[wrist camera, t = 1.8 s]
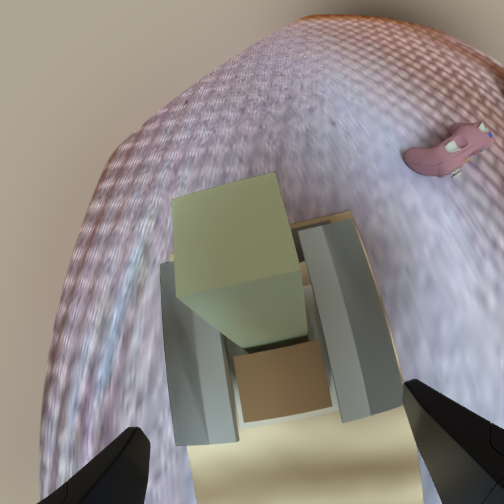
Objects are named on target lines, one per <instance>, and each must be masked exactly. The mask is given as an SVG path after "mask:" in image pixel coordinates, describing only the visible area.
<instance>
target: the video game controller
mask: <svg viewBox="0 0 504 504" xmlns="http://www.w3.org/2000/svg"><path fill="white" fill-rule="evenodd" d="M449 131H450V135H451V136H450V137H449V138H447V139H445V140H444V141H443V142H441V143H440V144H439V145H437V146H435V147H433V148H411V149H408V150H407V151H406V152H405V154H404V159H405V162H406V164H407V165H408V166H409V167H410V168H411V169H412V170H414V171H416V172H418V173H420V174H423V175H428V176H438V177H442V176H444V175H448V174H450V175H451V174H453V176H452V177H451V178H457V177H458V176H460V174H461V172H462V171H460V172H458V171H459V169H460V167H461V166H462V165H463V164H464V163H466V162H468V161H469V158H468V157H470V156H472V155H474V154H476V153H478V152H482V151H484V150H485V149H487V148H488V147H489V145H491V144H492V143H494V142H495V141H496V140H495V139H494V137H493V135H492V134H491V132H490V130H489V129H488V128H486V127H485V126H484V123H480V122H476V123H472V124H468V123H455V124H453V125H451V127H450V130H449Z"/></svg>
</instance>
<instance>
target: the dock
mask: <svg viewBox="0 0 504 504" xmlns="http://www.w3.org/2000/svg"><path fill="white" fill-rule="evenodd" d="M298 235H299V240H300V244H301V248H302V251H303V255H304V259H305V263H306V267H307V270H308V274H309V278H310V282H311V286H312V290H313V294H314V298H315V302H316V306H317V311H318V315H319V319H320V323H321V327H322V332H323V336H324V340H325V345H326V349H327V354H328V358H329V363H330V367H331V372H332V376H333V381H334V386H335V391H336V396H337V400H338V405H339V410H340V416H341V421H342V423H346V422H350V421H354V420H358V419H361V418H365V417H368V416H372V415H375V414H378V413H382V412H385V411H388V410H391V409H394V408H397V407H400V406H403V401H402V397H403V385H402V381H401V376H400V372H399V368H398V364H397V360H396V356H395V352H394V348H393V344H392V341H391V337H390V333H389V330H388V326H387V322H386V319H385V315H384V312H383V309H382V305H381V302H380V299H379V296H378V292H377V289H376V286H375V283H374V280H373V277H372V274H371V271H370V268H369V265H368V262H367V259H366V256H365V253H364V250H363V247H362V245H361V242H360V239H359V236H358V234H357V231H356V228H355V225H354V223H353V220H352V219H348V220H344V221H340V222H335V223H331V224H326V225H322V226H318V227H314V228H309V229H305V230H301V231H298ZM160 284H161V306H162V323H163V338H164V351H165V362H166V372H167V382H168V391H169V400H170V408H171V415H172V423H173V430H174V437H175V443H176V446H195V445H212V444H224V443H235V442H238V441H240V438H239V432H238V426H237V420H236V414H235V408H234V402H233V396H232V389H231V383H230V376H229V369H228V363H227V356H226V349H225V342H224V335H223V334H222V333H221V332H220V331H218V330H217V329H216V328H214V327H213V326H212V325H210V324H209V323H208V322H207V321H205V320H204V319H203V318H202V317H200V316H199V315H198V314H196V313H195V312H194V311H193V310H191V309H190V308H189V307H188V306H186V305H185V304H184V303H183V302H182V301H180V300H179V299H178V298H177V297H176V286H175V268H174V261H171V262H167V263H162V264H160Z"/></svg>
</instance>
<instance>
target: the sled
mask: <svg viewBox="0 0 504 504" xmlns="http://www.w3.org/2000/svg"><path fill="white" fill-rule="evenodd" d="M172 205H173V245H174V268H175V286H176V297H177V298H178V299H179V300H180V301H182V302H183V303H184V304H185V305H186V306H188V307H189V308H190V309H191V310H193V311H194V312H195V313H196V314H198V315H199V316H200V317H202V318H203V319H204V320H205V321H207V322H208V323H209V324H210V325H212V326H213V327H214V328H216V329H217V330H218V331H220V332H221V333H222V334H223V335H225V336H226V341H227V348H228V355H229V362H230V368H231V375H232V382H233V388H234V395H235V401H236V407H237V413H238V419H239V425H240V429H243V428H250V427H258V426H264V425H271V424H277V423H283V422H288V421H294V420H299V419H304V418H309V417H313V416H318V415H322V414H327V413H331V412H335V411H339V405H338V400H337V396H336V391H335V386H334V381H333V376H332V372H331V367H330V363H329V358H328V354H327V349H326V345H325V340H324V336H323V332H322V327H321V323H320V319H319V315H318V311H317V306H316V302H315V298H314V294H313V290H312V286H311V285H307V286H303V283H302V274H301V268H300V264H299V260H298V256H297V252H296V248H295V244H294V240H293V237H292V233H291V229H290V225H289V221H288V218H287V214H286V210H285V206H284V203H283V199H282V195H281V192H280V188H279V185H278V181H277V178H276V174H275V172H272V173H268V174H264V175H260V176H256V177H252V178H248V179H244V180H240V181H236V182H232V183H228V184H224V185H220V186H217V187H213V188H209V189H206V190H202V191H198V192H195V193H191V194H188V195H184V196H181V197H177V198H174V199H172Z"/></svg>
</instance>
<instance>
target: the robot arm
mask: <svg viewBox="0 0 504 504" xmlns="http://www.w3.org/2000/svg"><path fill="white" fill-rule="evenodd" d="M402 401H403V406H404V409H405V412H406V415H407V418H408V421H409V424H410V427H411V430H412V433H413V437H414V440H415V442H416V445H417V447H418V449H419V451H420V453H421V456H422V458H423V460H424V462H425V464H426V467H427V469H428V471H429V473H430V476H431V478H432V480H433V482H434V485H435V487H436V489H437V492H438V494H439V496H440V499H441V501H442V504H504V429H502V428H500V427H498V426H497V425H495V424H493V423H491V422H489V421H488V420H486V419H484V418H482V417H481V416H479V415H477V414H475V413H474V412H472V411H470V410H469V409H467V408H465V407H463V406H462V405H460V404H458V403H456V402H455V401H453V400H451V399H450V398H448V397H446V396H444V395H443V394H441V393H439V392H438V391H436V390H434V389H433V388H431V387H429V386H427V385H426V384H424V383H422V382H421V381H419V380H417V379H412V380H409V381H406V382H405V383H404V385H403V397H402ZM149 460H150V442H149V440H148V438H147V437H146V435H145V434H144V433H143V431H142V430H141V429H140V428H139V427H128V428H127V429H126V430H125V431H124V432H122V433H121V434H120V435H119V436H118V437H117V438H116V439H115V440H114V441H112V442H111V443H110V444H109V445H108V446H107V447H106V448H105V449H103V450H102V451H101V452H100V453H99V454H98V455H97V456H96V457H94V458H93V459H92V460H91V461H90V462H89V463H88V464H86V465H85V466H84V467H83V468H82V469H81V470H79V471H78V472H77V473H76V474H75V475H74V476H72V477H71V478H70V479H69V480H68V482H65V483H64V484H63V485H62V486H61V487H59V488H58V489H57V490H56V491H54V492H53V493H52V494H50V495H49V496H47V497H46V498H45V499H43V500H42V501H40V502H39V503H37V504H144V500H145V495H146V489H147V483H148V475H149Z"/></svg>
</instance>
